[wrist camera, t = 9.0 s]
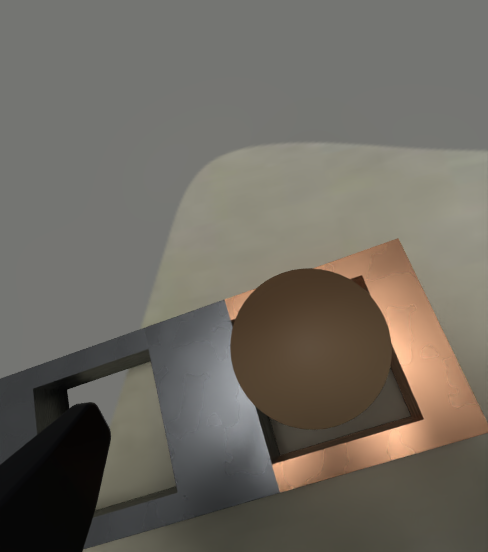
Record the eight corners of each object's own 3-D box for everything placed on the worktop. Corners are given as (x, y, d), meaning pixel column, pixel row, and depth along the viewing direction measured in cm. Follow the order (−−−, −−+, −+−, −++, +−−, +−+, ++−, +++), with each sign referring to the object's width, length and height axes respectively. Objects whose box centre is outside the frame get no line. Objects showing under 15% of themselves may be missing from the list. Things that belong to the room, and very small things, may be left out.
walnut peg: (373, 398, 17) (420, 400, 8) (296, 421, 18) (255, 450, 8) (343, 322, 18) (354, 247, 9) (272, 346, 19) (213, 297, 10)
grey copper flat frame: (468, 426, 16) (491, 431, 14) (47, 549, 18) (6, 571, 16) (390, 257, 19) (398, 238, 17) (32, 382, 21) (-5, 380, 19)
